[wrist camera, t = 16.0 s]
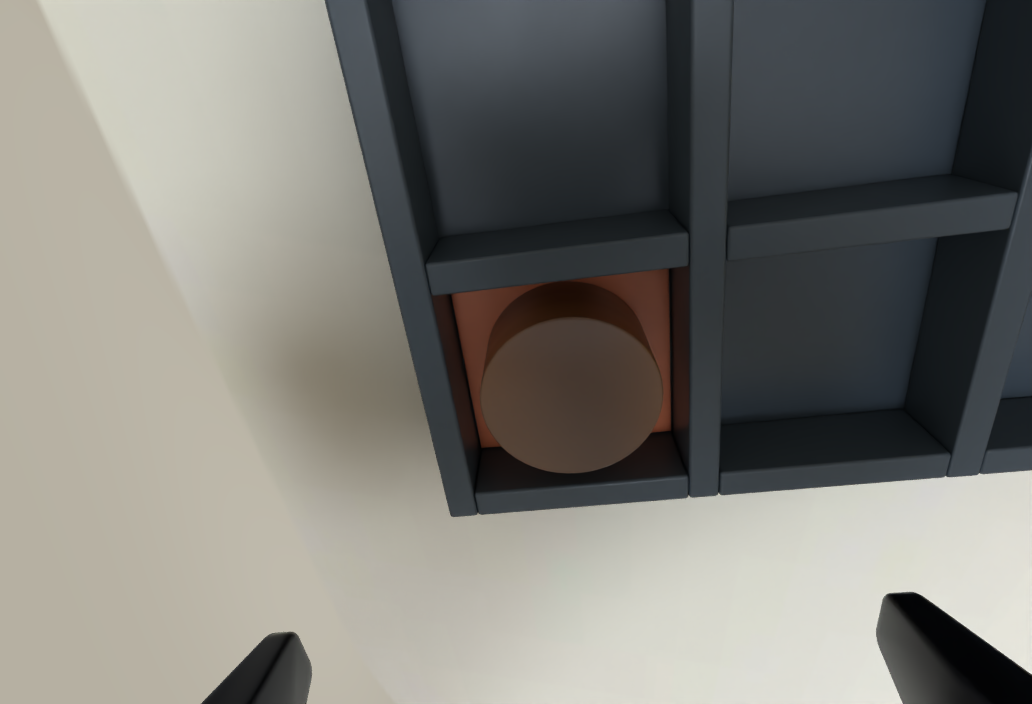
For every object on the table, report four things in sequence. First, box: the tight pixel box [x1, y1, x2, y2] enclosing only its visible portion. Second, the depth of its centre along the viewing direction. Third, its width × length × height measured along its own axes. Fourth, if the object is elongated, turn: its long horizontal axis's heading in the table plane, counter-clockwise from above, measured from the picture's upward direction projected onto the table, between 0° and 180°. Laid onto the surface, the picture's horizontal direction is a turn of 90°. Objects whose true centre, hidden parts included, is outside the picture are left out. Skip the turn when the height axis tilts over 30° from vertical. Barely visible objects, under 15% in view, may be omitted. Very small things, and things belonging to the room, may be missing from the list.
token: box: [480, 281, 663, 473], centre depth 15 cm, size 4×4×2 cm
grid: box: [325, 0, 1032, 517], centre depth 12 cm, size 21×21×3 cm
